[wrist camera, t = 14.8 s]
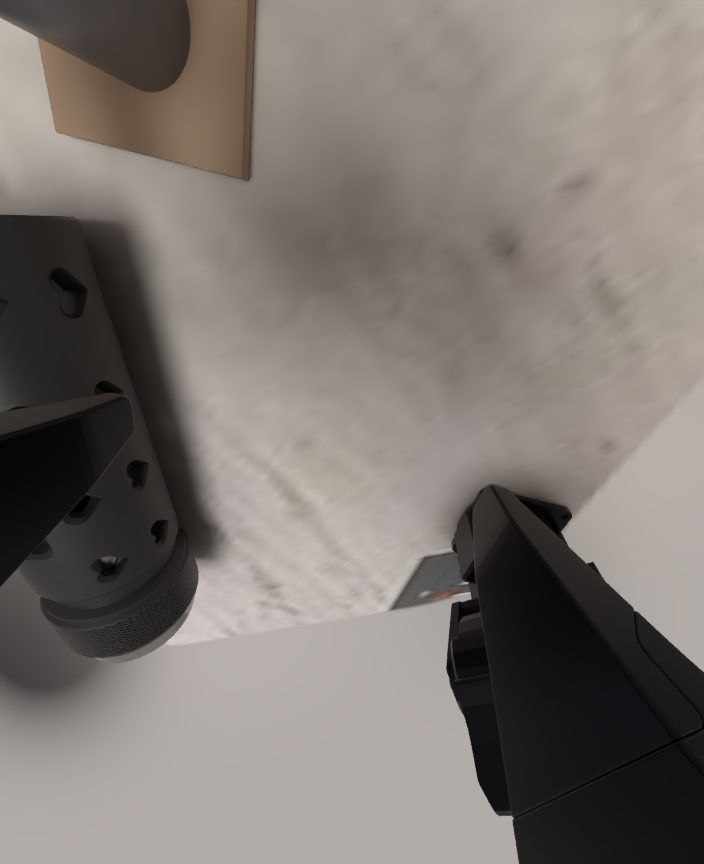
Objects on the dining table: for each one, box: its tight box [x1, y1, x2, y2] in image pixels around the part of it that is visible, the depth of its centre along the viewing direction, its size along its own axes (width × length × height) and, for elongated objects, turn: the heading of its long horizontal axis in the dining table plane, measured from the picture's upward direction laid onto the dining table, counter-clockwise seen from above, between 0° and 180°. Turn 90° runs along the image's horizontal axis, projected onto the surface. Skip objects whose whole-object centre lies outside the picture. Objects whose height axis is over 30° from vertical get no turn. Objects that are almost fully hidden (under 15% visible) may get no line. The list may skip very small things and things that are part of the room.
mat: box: [38, 0, 256, 181], centre depth 14 cm, size 9×9×1 cm
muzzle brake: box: [0, 215, 198, 663], centre depth 22 cm, size 10×28×10 cm, turn 179°
